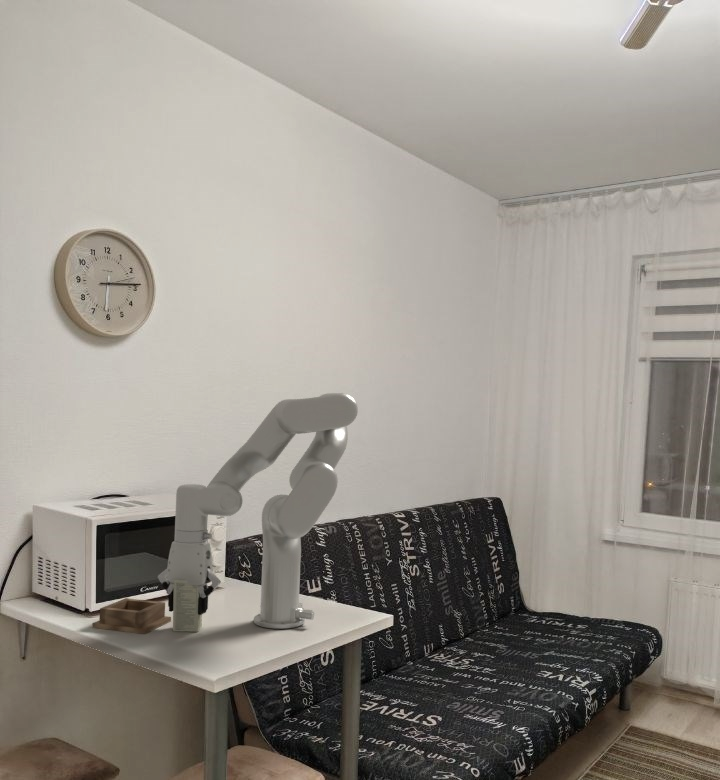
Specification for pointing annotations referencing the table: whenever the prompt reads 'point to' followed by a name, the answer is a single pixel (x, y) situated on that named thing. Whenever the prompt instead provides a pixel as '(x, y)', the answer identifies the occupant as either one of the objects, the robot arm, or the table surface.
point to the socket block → (132, 616)
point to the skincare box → (186, 607)
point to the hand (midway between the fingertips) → (187, 611)
